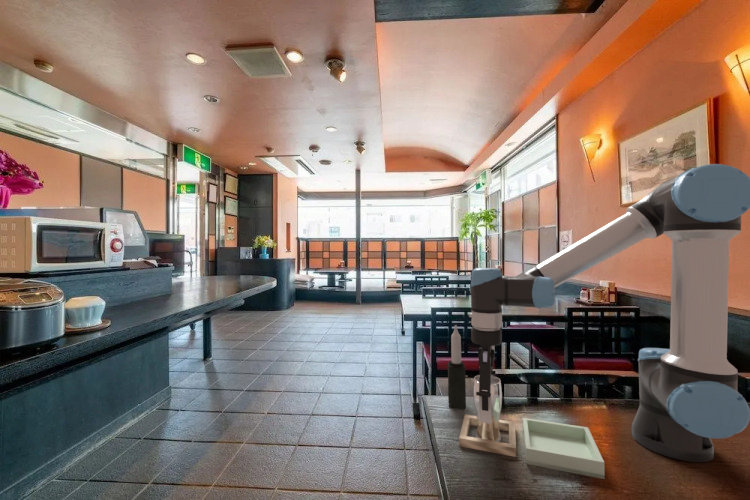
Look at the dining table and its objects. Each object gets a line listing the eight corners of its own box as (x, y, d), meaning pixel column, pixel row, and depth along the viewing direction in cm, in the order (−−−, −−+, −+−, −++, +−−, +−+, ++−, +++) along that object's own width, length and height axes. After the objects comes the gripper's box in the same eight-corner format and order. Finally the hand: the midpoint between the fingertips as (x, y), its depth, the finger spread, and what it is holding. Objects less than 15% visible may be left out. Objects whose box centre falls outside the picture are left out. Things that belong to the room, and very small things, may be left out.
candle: (466, 409, 102) (464, 327, 103) (449, 408, 103) (447, 326, 103) (464, 402, 107) (463, 323, 108) (448, 401, 108) (447, 323, 108)
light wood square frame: (514, 429, 90) (514, 422, 90) (516, 456, 78) (516, 448, 78) (465, 421, 95) (465, 414, 95) (459, 446, 83) (459, 438, 83)
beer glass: (504, 446, 83) (503, 385, 83) (475, 443, 84) (474, 383, 84) (500, 431, 89) (499, 375, 90) (473, 429, 91) (472, 373, 91)
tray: (588, 441, 84) (587, 427, 84) (604, 479, 70) (604, 462, 70) (523, 430, 90) (522, 417, 90) (526, 463, 76) (525, 448, 76)
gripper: (475, 317, 100) (475, 389, 100) (466, 337, 77) (466, 431, 77) (502, 319, 97) (502, 393, 97) (501, 340, 74) (501, 437, 74)
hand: (486, 410), depth 87 cm, fingers open, 13 cm apart
